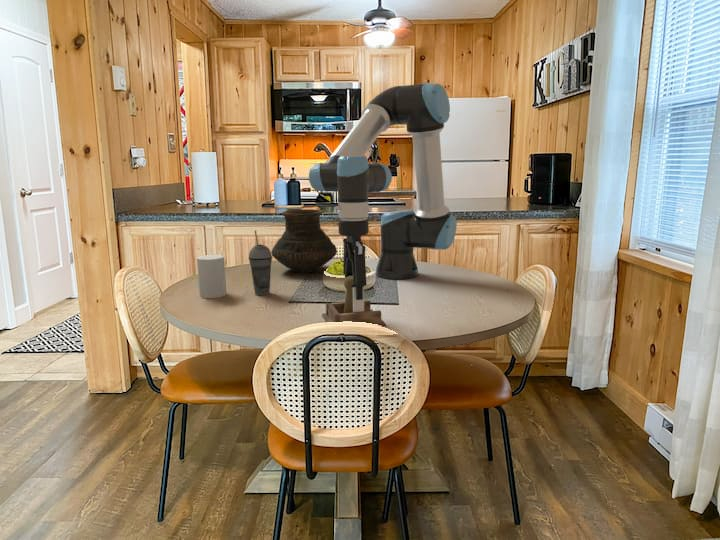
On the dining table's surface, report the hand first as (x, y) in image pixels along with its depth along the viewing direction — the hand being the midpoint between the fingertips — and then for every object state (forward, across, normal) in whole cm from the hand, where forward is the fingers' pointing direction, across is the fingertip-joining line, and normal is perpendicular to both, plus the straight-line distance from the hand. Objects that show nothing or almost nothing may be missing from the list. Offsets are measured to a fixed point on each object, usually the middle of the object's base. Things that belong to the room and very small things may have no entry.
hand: (354, 306), depth 133 cm
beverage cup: (+4, -35, -22) cm, 41 cm away
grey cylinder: (+4, -38, -36) cm, 53 cm away
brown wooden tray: (+4, 0, -1) cm, 4 cm away
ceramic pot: (+4, -65, -4) cm, 65 cm away
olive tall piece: (+3, 0, 0) cm, 3 cm away
